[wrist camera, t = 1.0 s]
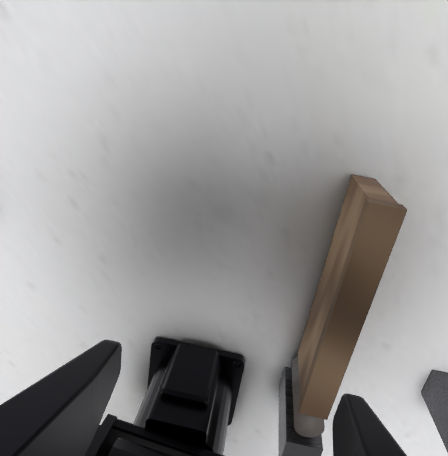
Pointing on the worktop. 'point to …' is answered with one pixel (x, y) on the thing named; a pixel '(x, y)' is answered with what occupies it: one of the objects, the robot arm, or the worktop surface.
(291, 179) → the worktop surface
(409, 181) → the worktop surface
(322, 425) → the gate
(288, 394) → the gate frame
